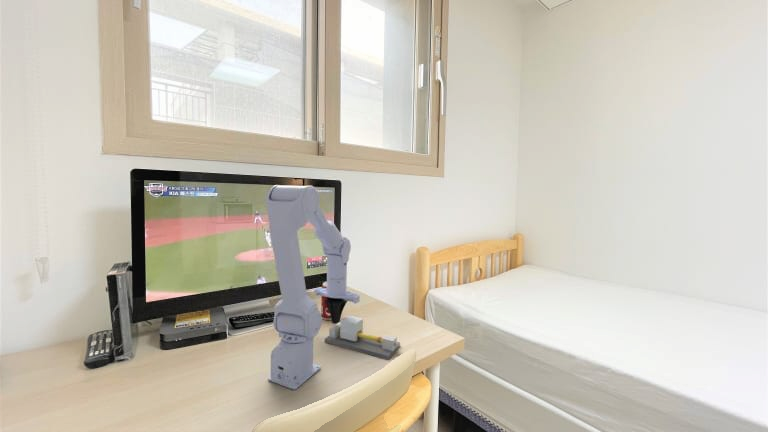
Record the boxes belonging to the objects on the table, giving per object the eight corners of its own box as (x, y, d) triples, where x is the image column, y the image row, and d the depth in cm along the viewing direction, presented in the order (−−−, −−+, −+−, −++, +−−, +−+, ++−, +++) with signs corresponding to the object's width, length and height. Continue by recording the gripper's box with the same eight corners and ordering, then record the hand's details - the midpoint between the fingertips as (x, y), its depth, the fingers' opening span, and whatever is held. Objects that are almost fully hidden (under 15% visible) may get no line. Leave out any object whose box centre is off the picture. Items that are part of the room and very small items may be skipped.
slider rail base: (392, 360, 77) (393, 346, 77) (324, 342, 86) (324, 329, 85) (403, 346, 84) (404, 333, 84) (339, 330, 93) (340, 319, 93)
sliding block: (355, 341, 84) (355, 323, 83) (340, 337, 86) (340, 320, 85) (362, 335, 87) (363, 318, 87) (347, 331, 89) (348, 315, 89)
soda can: (338, 314, 105) (338, 281, 105) (334, 321, 100) (334, 285, 99) (323, 313, 106) (324, 280, 105) (319, 320, 101) (319, 284, 100)
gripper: (365, 277, 88) (364, 322, 89) (324, 271, 94) (323, 313, 95) (352, 283, 82) (351, 331, 83) (310, 276, 88) (309, 321, 89)
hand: (335, 322), depth 89 cm, fingers closed
